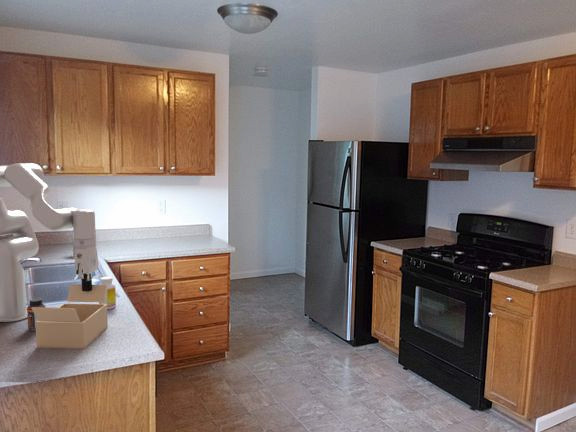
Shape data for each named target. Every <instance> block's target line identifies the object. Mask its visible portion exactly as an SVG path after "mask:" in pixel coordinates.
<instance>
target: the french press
mask: <svg viewBox="0 0 576 432" xmlns="http://www.w3.org/2000/svg"><path fill="white" fill-rule="evenodd" d="M71 236H72V240H71V243H72V256H71V259H75V248H74V233H72V235H71Z"/></svg>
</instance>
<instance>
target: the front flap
mask: <svg viewBox="0 0 576 432" xmlns="http://www.w3.org/2000/svg"><path fill="white" fill-rule="evenodd" d="M32 310H33V312H34V314H35V316H36V318H37V320H38V321H67V322H80V320H79V317H78V315H77V313H76V310H75V308H58V307H45V308H43V307H32Z"/></svg>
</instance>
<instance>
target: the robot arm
mask: <svg viewBox="0 0 576 432" xmlns="http://www.w3.org/2000/svg"><path fill="white" fill-rule="evenodd" d="M44 175H45V174H44V170H43V168H41V166H40V165H38V164H37V163H32V162H18V163H17V162H16V163H12V164H9V165H7V164H5V165H0V188H10V187H11V188H12V187H13V188H14V189H15V190H17V192H18V193H20V194H21V195H22V197H24V198H25V199H27V201H29V208H30V212H31V213H32V216H33V217H34V218H35V219H36V220H37V221H38V222H39V223H40V224H41V225H42V226H44V227H45V228H46V229H48V230H51V231H61V230H65V229H66V230H67V229H72V231H73V233H72V234H74V238H73V242H74V243H73V244H74V248H75V258H74V272H75V275H77V277H78V279H80V282H81V285H82V291H91V290H92V285H93V273H94V272H96V271H97V270H98V269H99V257H98V249H97V240H96V239H97V238H96V237H97V236H96V235H97V234H96V213H95V211H94V210H92V209H90V208H88V209H87V208H83V209H82V208H81V209H80V208H75V207H65V208H57V209H55V208H53V207H52V206H51V205H49V203H47V202H46V201H45V199H46V198H47V197H48V195H49V192H50V187H49V185H48V184H46V183H45V182H44V181H43V180H44V178H45V176H44ZM9 235H10V236H11V235H12V237H6V238H3V239H0V323H2V322H3V323H10V322H12V323H13V322H17V321H21V320H25V319H28V316H27V307H28V304H27V291H26V287H27V286H26V276H25V275H26V273H25V270H24V267H23V266H22V264H21V262H20V261H21V260H26V259H29V258H31V257H32V258H33V257H34V256H36V255H37V254H38V252H39V246H40V245H39V241H38V238H37V236H36V235H37V234H36V233H35V231H34V227H33V225H32V223H31V220H30V218H29V217H28V215H27V214H26V213H25V212H24V211H22V210H19V209H9V210H8V208H7V206H6V203H5V201H4V199H3V198H2V196H1V195H0V237H4V236H9Z"/></svg>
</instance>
